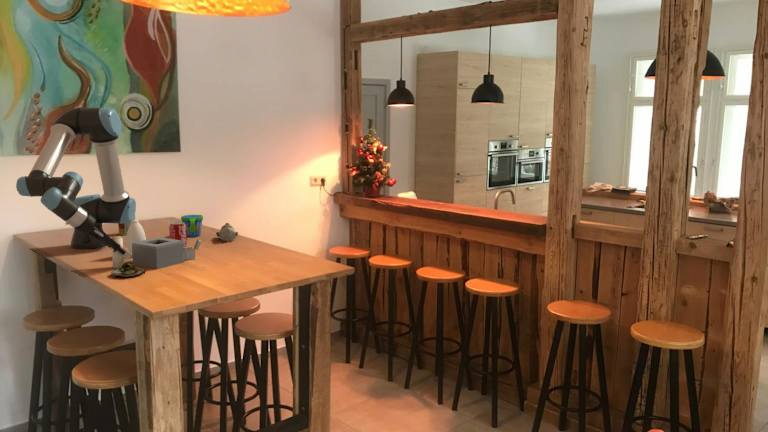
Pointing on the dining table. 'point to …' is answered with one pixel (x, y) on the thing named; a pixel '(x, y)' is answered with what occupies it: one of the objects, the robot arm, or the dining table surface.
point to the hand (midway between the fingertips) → (127, 256)
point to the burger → (127, 270)
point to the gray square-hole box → (157, 252)
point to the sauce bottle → (134, 234)
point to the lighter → (191, 251)
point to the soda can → (178, 232)
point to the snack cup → (192, 225)
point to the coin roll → (115, 256)
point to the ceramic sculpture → (227, 233)
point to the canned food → (124, 228)
